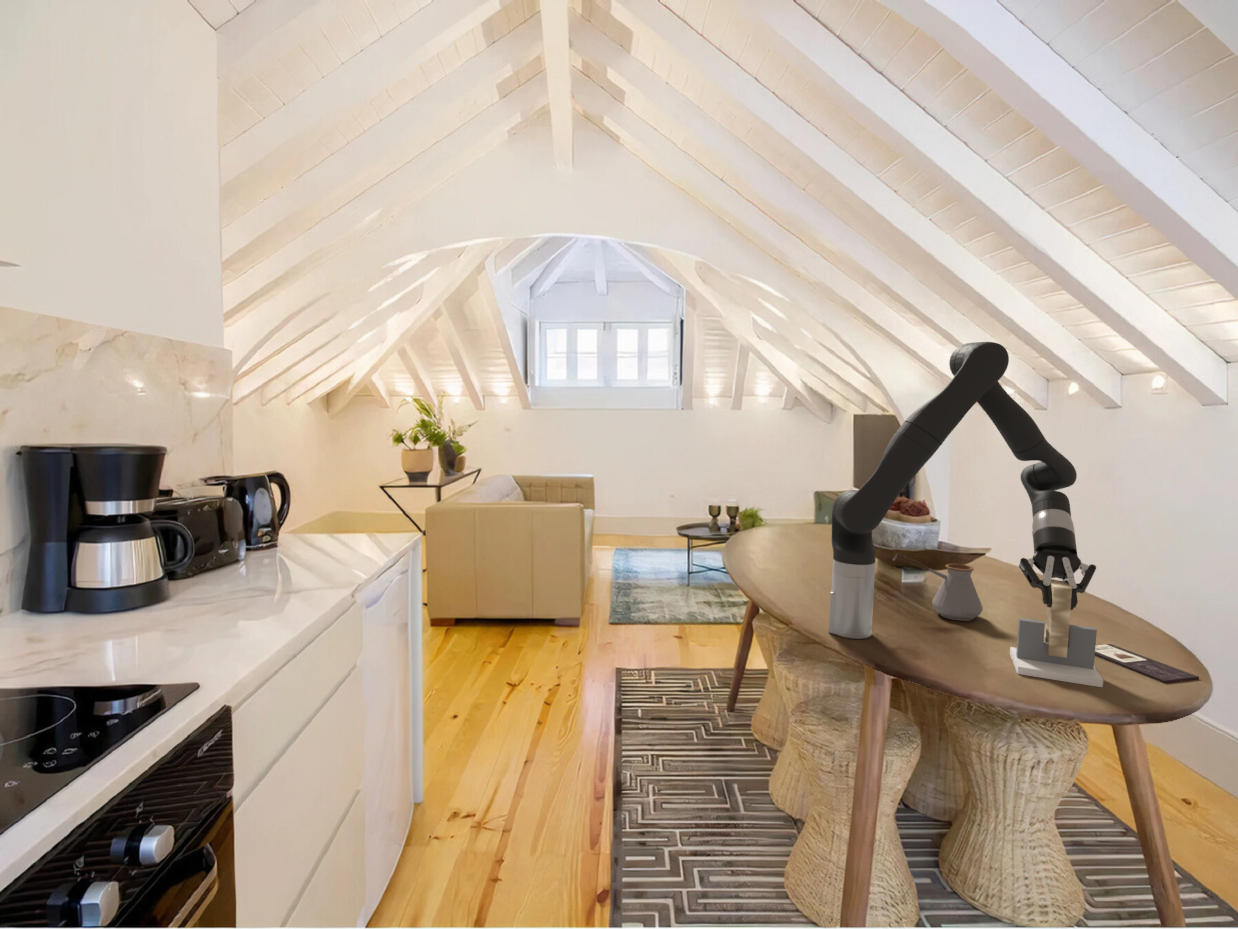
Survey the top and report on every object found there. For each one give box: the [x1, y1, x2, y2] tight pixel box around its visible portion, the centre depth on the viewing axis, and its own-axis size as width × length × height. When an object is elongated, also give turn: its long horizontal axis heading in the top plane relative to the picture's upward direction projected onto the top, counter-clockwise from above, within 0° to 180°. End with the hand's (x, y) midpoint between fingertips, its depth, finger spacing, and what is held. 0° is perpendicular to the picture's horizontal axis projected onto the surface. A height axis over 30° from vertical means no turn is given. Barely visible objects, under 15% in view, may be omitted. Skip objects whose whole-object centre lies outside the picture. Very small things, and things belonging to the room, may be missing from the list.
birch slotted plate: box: [1043, 579, 1072, 658], centre depth 131 cm, size 3×6×14 cm, turn 155°
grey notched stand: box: [1009, 617, 1104, 688], centre depth 132 cm, size 14×12×10 cm
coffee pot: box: [892, 552, 984, 622], centre depth 166 cm, size 21×12×15 cm, turn 72°
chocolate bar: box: [1095, 643, 1200, 684], centre depth 136 cm, size 9×1×18 cm
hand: (1060, 606), depth 129 cm, fingers closed on birch slotted plate, 3 cm apart
